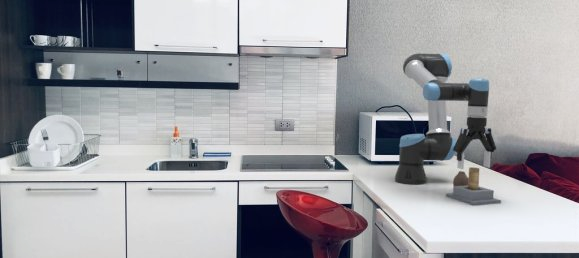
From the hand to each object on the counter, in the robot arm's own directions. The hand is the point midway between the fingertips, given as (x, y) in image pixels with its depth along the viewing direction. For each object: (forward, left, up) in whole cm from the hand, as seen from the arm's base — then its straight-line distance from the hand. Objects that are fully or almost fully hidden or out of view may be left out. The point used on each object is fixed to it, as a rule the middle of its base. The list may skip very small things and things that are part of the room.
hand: (473, 167), depth 186 cm
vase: (-15, +7, -14) cm, 21 cm away
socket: (0, 0, -13) cm, 13 cm away
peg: (0, 0, -12) cm, 12 cm away
